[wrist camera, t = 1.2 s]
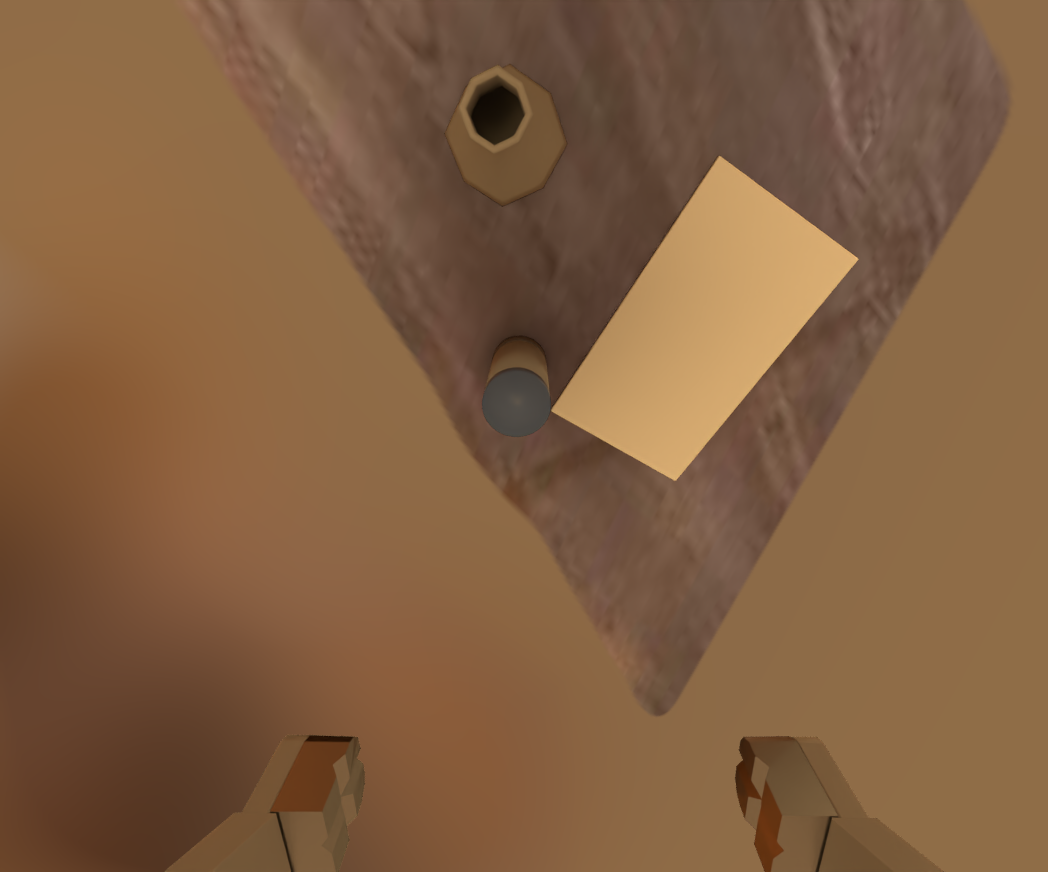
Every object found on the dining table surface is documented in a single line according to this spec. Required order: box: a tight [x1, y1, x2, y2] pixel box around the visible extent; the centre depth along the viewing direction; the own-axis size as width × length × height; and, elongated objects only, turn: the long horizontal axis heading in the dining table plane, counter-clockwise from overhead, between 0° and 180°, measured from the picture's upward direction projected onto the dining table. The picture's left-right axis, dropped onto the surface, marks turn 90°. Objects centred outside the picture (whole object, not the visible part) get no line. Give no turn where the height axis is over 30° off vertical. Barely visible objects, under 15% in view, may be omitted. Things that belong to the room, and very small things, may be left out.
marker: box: [482, 336, 551, 437], centre depth 33 cm, size 4×4×9 cm
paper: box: [551, 156, 858, 481], centre depth 36 cm, size 20×12×1 cm, turn 149°
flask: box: [444, 64, 567, 206], centre depth 27 cm, size 7×7×10 cm
